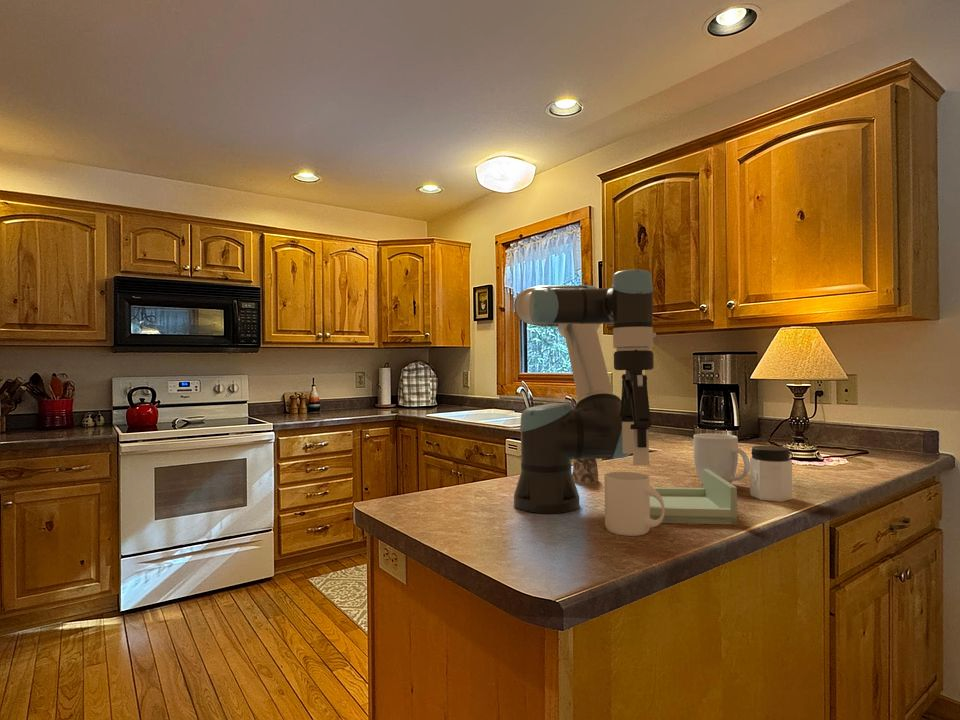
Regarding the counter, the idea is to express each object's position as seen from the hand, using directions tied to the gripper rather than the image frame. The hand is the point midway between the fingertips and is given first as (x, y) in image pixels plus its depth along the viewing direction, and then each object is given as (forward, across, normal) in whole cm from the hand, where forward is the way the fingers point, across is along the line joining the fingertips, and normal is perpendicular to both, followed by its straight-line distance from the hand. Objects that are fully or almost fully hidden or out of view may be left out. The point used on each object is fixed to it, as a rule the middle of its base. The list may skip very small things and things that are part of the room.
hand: (634, 459), depth 109 cm
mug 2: (+14, +43, -29) cm, 54 cm away
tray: (+14, +16, -12) cm, 25 cm away
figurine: (+14, +46, +6) cm, 49 cm away
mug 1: (+14, 0, 0) cm, 14 cm away
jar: (+14, +30, -37) cm, 50 cm away
